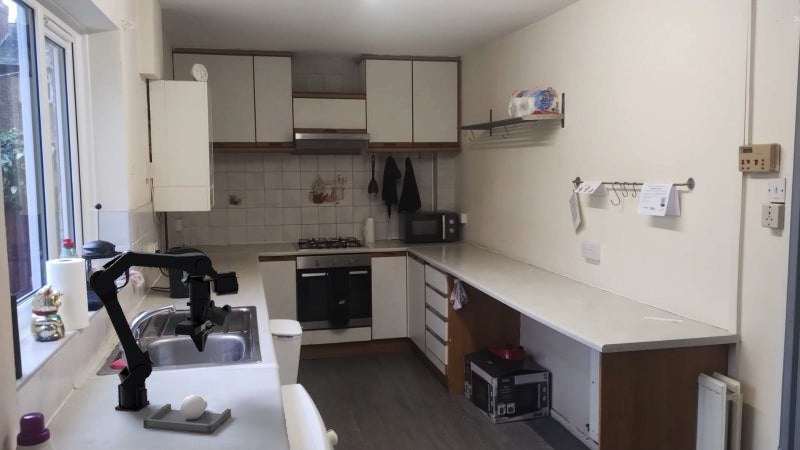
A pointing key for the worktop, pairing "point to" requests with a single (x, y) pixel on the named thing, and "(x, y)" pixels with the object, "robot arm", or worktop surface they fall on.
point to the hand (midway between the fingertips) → (201, 351)
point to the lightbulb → (193, 407)
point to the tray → (185, 421)
